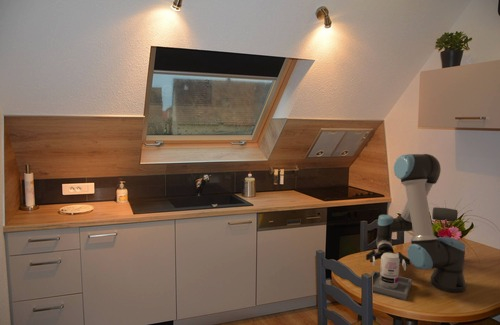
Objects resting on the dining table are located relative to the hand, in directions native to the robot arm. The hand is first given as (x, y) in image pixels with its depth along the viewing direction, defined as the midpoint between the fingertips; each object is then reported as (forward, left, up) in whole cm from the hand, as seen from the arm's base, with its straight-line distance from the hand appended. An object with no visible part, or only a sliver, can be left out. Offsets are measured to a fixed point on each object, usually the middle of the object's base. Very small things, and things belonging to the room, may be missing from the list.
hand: (389, 265), depth 173 cm
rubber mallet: (-19, -54, -11) cm, 58 cm away
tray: (0, -1, -11) cm, 11 cm away
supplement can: (0, -1, -10) cm, 10 cm away
